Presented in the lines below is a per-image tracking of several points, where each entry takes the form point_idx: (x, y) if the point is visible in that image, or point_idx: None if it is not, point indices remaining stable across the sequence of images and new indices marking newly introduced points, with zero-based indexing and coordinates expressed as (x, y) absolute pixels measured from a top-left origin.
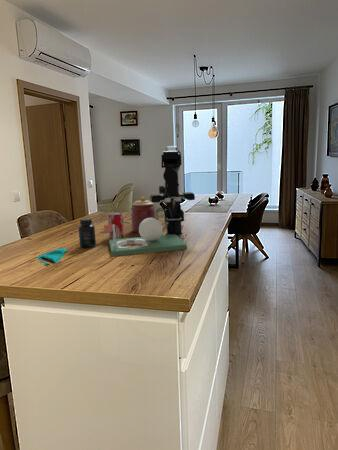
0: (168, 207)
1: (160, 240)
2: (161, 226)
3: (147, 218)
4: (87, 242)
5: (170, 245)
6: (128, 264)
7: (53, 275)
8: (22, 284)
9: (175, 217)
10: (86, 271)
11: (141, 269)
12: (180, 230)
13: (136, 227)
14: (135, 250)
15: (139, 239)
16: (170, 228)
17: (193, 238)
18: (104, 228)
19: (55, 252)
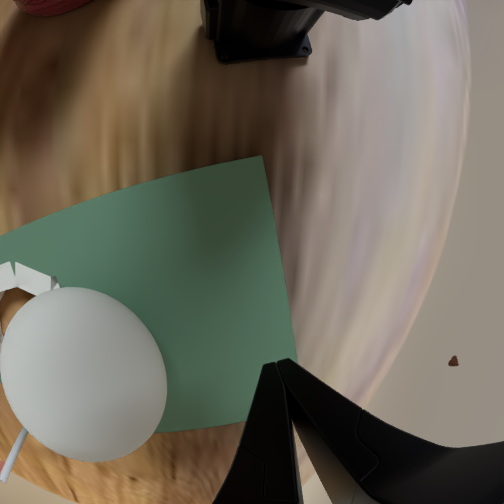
0: (234, 489)
1: (159, 330)
2: (160, 414)
3: (38, 439)
4: None
5: (226, 416)
6: (119, 473)
7: (24, 465)
8: (18, 473)
9: (305, 4)
10: (58, 473)
11: (163, 493)
12: (304, 31)
13: (23, 6)
14: None
15: (37, 286)
16: (231, 25)
17: (368, 180)
18: None
19: None
